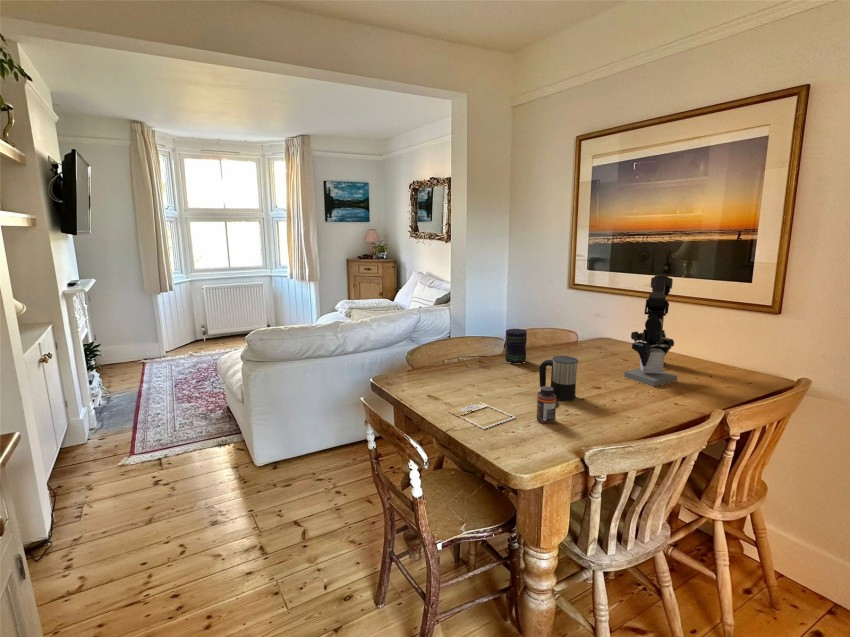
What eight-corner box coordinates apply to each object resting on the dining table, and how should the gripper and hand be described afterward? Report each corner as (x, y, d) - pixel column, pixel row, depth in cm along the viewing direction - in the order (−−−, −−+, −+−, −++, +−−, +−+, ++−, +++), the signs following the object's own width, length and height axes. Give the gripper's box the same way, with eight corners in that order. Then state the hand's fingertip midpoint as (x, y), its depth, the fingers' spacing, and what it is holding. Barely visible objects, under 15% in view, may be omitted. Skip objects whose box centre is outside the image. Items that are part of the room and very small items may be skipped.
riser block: (646, 373, 197) (647, 366, 197) (676, 382, 185) (677, 375, 184) (624, 378, 191) (624, 371, 191) (653, 388, 179) (654, 381, 178)
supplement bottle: (533, 417, 152) (535, 385, 150) (551, 416, 152) (552, 384, 150) (539, 424, 146) (541, 391, 144) (557, 424, 146) (559, 390, 144)
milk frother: (575, 393, 173) (577, 356, 170) (579, 409, 158) (581, 368, 155) (536, 391, 176) (538, 354, 174) (537, 406, 161) (539, 366, 159)
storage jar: (510, 357, 223) (511, 327, 220) (529, 360, 217) (530, 330, 214) (501, 362, 215) (502, 331, 212) (520, 365, 209) (521, 334, 206)
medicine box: (659, 369, 189) (661, 349, 187) (663, 372, 185) (665, 351, 183) (639, 368, 190) (640, 348, 188) (642, 371, 186) (644, 351, 184)
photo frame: (479, 400, 165) (516, 416, 151) (479, 403, 166) (515, 419, 151) (447, 410, 157) (484, 428, 143) (447, 413, 157) (483, 431, 143)
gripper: (652, 321, 195) (649, 356, 198) (621, 326, 187) (619, 362, 190) (676, 326, 185) (672, 363, 188) (645, 331, 177) (642, 369, 180)
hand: (651, 364), depth 187 cm, fingers closed on medicine box, 9 cm apart
